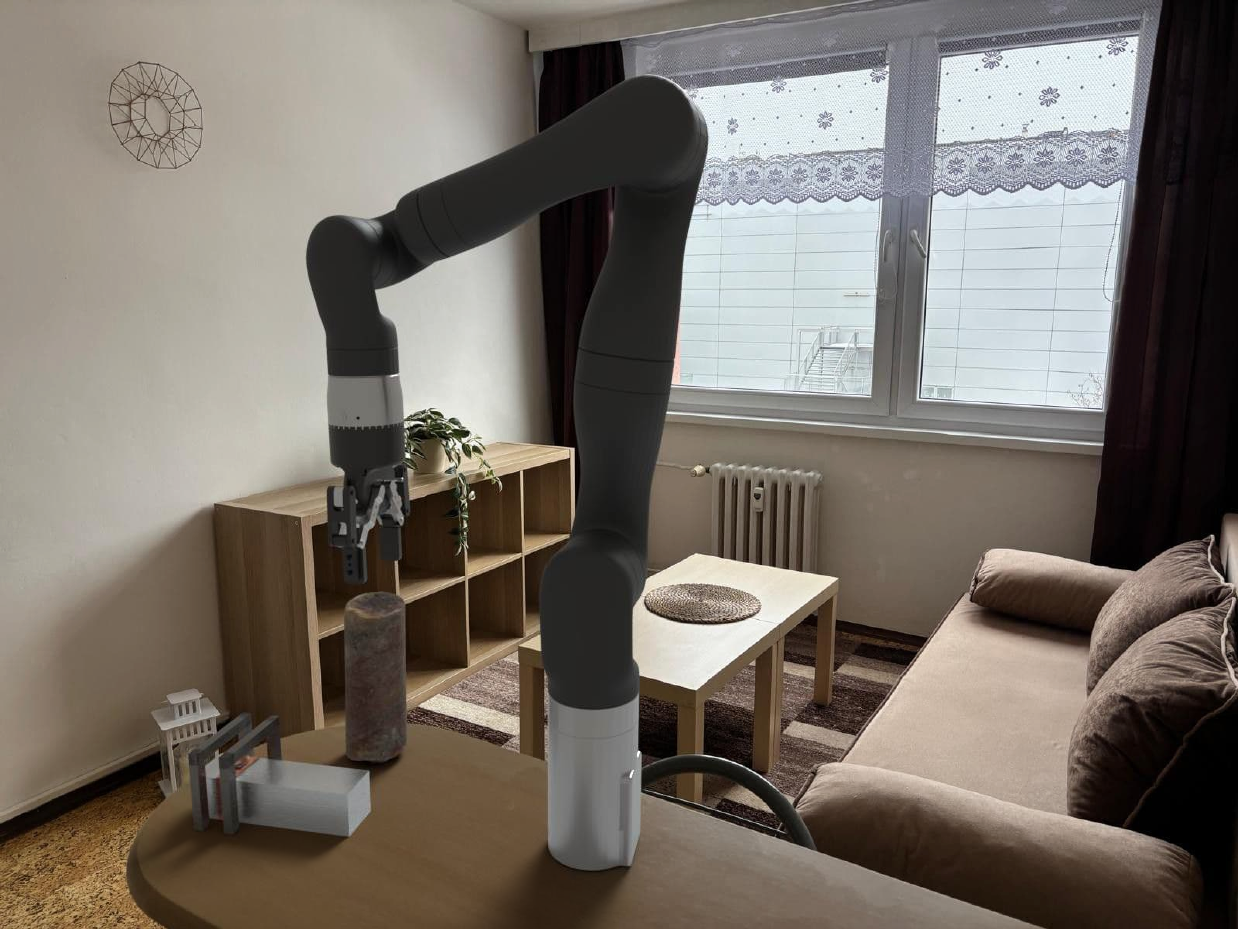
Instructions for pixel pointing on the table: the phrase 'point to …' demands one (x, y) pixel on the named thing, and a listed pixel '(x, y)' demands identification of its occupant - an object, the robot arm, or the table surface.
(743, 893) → the table surface
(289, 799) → the brushed metal post
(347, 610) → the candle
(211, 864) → the table surface
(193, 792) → the collar
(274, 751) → the collar
